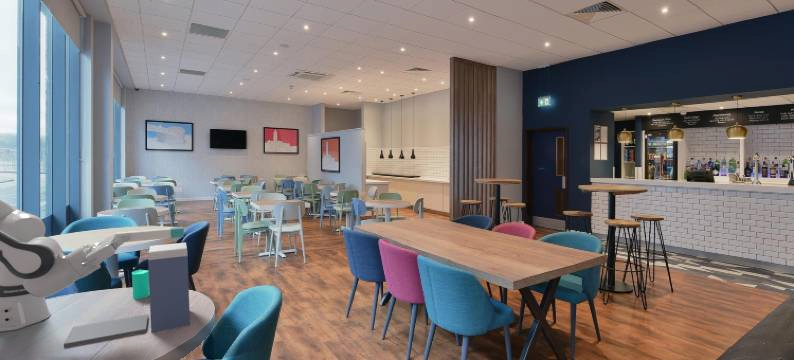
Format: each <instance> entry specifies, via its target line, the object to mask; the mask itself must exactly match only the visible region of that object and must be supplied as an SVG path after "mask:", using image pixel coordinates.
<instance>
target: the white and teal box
mask: <svg viewBox="0 0 794 360" xmlns="http://www.w3.org/2000/svg"><path fill="white" fill-rule="evenodd" d="M184 233H185V230H184V226H179V227H169V228H168V227H166V228H155V229H142V230H132V231H117V232H115V233H114V235H115V238H116V240H118V239H120V238H121V237H123V236H125V235H129V237H130V239H129V240H128V241H126V242H125V243H129V242H140V241H141V242H143V241H150V240H163V239H175V238H184V237H185V234H184Z"/></svg>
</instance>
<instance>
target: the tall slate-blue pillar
mask: <svg viewBox="0 0 794 360" xmlns="http://www.w3.org/2000/svg"><path fill="white" fill-rule="evenodd" d="M188 259H189V258H188V247H187V242H179V243H167V244H158V245H150V246H149V250H148V254H147V260H148V261H147V263H148V268H147V269H148V271H149V294H150V296H149V313H150V333H157V332H161V331H167V330H172V329H177V328H182V327H188V326H190V325H191V319H190V318H191V317H190V316H191V315H190V313H191V311H190V292H189V291H190V289H189V287H190V285H189V263H188V261H189V260H188Z"/></svg>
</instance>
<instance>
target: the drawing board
mask: <svg viewBox="0 0 794 360" xmlns="http://www.w3.org/2000/svg"><path fill="white" fill-rule="evenodd" d="M148 319H149V315H148V314H142V315H135V316H129V317H124V318H118V319H113V320H112V319H111V320H106V321H100V322H93V323H88V324H83V325H76V326H72V328H71V330H70V332H69V333H68V335H67V336H66V339H65V341H64V342H63V348H69V347H74V346H75V347H76V346H81V345H86V344H91V343H96V342H101V341H106V340H111V339H112V340H113V339H118V338H122V337H124V338H125V337H129V336H134V335H139V334H144V333H147V330H148V329H147V328H148V321H149V320H148Z"/></svg>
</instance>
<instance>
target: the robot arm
mask: <svg viewBox="0 0 794 360" xmlns="http://www.w3.org/2000/svg"><path fill="white" fill-rule="evenodd" d="M45 233H46V226H45V223H44V221H43V220H42V219H41V217H38V216H37V215H35V214H31V213H29V212H28V213H27V212H26V211H23V210H20V209H19V208H16V207H15V206H13V205H12V204H9V203H7V202H5V201H3V200H1V199H0V332H10V331H17V330H20V329H22V328H25V327H27V326H30V325H33V324H37V323H39V322H42V321H43V320H46V319H48V318H49V317H51V314H52V313H51V312H50V310H49V307H48V303H47V300H46V298H47V297H51V296H53V295H55V294H57V293H59V292H61V291H62V290H65V289H66V288H68V287H70V286H72V285H73V284H74V283H75V282H76V281H78V280H79V279H83V278H85V277H87V276H89V275H91V274H92V273H94V272H95V271H97V270H99V269H101V263H103V262H104V261H106V260H107V259H109V258H111V257H113V256H114V255H115V254H116V252H117V251H118V248H119V247H120V246H122V245H124V244H125V243H127V242H126V241H128V240H129V239H130V237H129V235H125V236H123V237H121V238H120V239H118V240H116V238H115V234H112V235H109V236H108V237H105V238H103V239H100V240H99V241H97V242H94V243H92V244H87V245H82V246H80V247H78V248H76V249H75V250H72V251H71V252H69V253H68V254H65V253H64V250H63V249H62V247H61V246H60V244H59V243H58V241H57V240H56V239H54V238H52V237H48V236H45Z"/></svg>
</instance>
